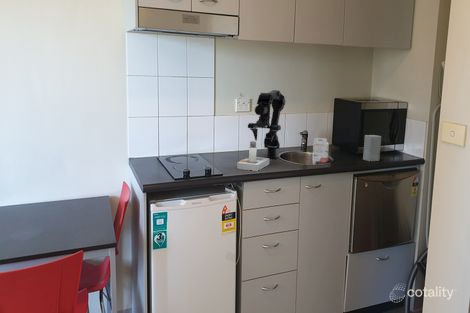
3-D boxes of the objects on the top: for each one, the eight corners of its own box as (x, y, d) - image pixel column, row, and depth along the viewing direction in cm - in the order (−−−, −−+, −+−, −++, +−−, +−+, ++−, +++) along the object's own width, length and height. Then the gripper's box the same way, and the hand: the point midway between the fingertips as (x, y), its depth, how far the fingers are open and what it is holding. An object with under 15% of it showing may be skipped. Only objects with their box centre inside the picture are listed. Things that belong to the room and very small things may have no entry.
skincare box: (369, 161, 264) (371, 136, 261) (361, 159, 271) (364, 134, 267) (380, 161, 268) (382, 136, 264) (372, 158, 274) (374, 134, 271)
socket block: (250, 161, 255) (250, 155, 255) (269, 164, 251) (269, 157, 250) (236, 168, 238) (237, 161, 237) (257, 171, 233) (257, 164, 232)
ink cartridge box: (327, 161, 263) (329, 137, 260) (325, 162, 259) (327, 138, 256) (314, 159, 267) (316, 136, 264) (312, 160, 263) (313, 137, 260)
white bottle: (247, 167, 241) (248, 141, 238) (254, 167, 242) (255, 141, 239) (249, 169, 237) (250, 142, 234) (256, 169, 238) (257, 142, 235)
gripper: (244, 114, 245) (243, 141, 247) (275, 116, 238) (274, 144, 240) (251, 113, 255) (250, 139, 258) (281, 115, 248) (280, 142, 250)
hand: (263, 141), depth 251 cm, fingers open, 9 cm apart
